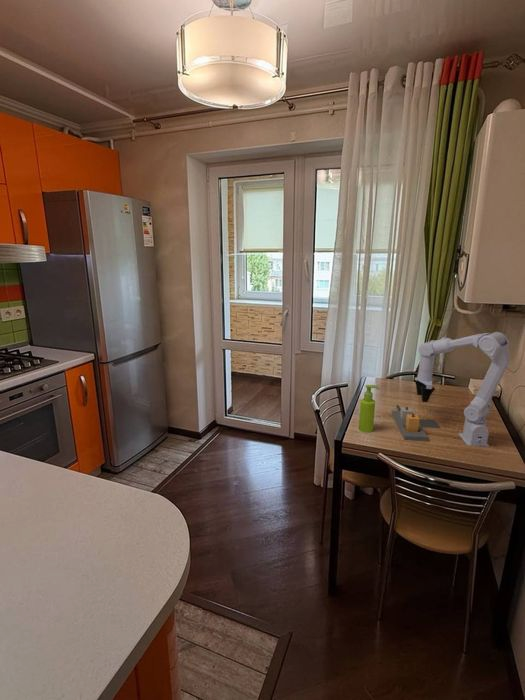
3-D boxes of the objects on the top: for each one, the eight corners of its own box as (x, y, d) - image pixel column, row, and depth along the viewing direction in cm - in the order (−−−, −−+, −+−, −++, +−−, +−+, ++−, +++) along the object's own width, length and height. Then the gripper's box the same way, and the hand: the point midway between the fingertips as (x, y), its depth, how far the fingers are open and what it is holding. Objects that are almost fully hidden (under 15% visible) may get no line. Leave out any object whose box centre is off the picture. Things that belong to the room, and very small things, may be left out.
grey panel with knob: (427, 441, 148) (429, 426, 146) (404, 440, 149) (406, 424, 147) (407, 408, 178) (408, 394, 176) (387, 407, 179) (389, 393, 177)
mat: (440, 428, 158) (441, 428, 158) (421, 427, 159) (421, 427, 159) (434, 420, 166) (434, 419, 166) (416, 419, 167) (416, 418, 166)
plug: (417, 434, 152) (419, 416, 150) (407, 433, 153) (409, 416, 151) (414, 429, 156) (416, 412, 154) (405, 429, 157) (407, 412, 155)
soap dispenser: (375, 433, 154) (379, 388, 149) (358, 431, 156) (362, 387, 150) (374, 426, 160) (378, 383, 154) (358, 425, 161) (361, 382, 156)
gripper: (411, 363, 167) (408, 391, 171) (421, 374, 153) (417, 404, 157) (428, 364, 166) (424, 392, 170) (439, 375, 153) (434, 405, 156)
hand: (422, 398), depth 164 cm, fingers open, 7 cm apart
